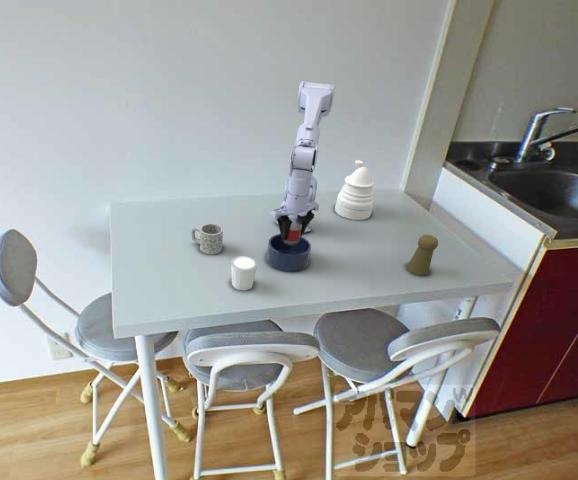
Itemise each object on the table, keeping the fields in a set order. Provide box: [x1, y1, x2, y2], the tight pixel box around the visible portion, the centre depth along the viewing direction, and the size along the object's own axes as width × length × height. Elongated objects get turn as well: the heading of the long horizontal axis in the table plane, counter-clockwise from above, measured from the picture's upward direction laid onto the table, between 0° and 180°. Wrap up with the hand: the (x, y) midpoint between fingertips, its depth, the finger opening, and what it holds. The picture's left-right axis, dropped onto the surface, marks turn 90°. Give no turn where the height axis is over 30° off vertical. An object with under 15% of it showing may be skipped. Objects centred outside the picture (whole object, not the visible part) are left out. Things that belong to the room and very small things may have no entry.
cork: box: [406, 234, 439, 277], centre depth 121 cm, size 6×6×11 cm
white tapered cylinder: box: [230, 255, 258, 291], centre depth 112 cm, size 7×7×7 cm
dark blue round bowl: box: [266, 233, 312, 273], centre depth 123 cm, size 12×12×6 cm
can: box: [283, 218, 302, 246], centre depth 119 cm, size 5×5×6 cm
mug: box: [191, 223, 224, 255], centre depth 126 cm, size 10×7×7 cm, turn 65°
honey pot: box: [334, 159, 375, 221], centre depth 147 cm, size 13×13×18 cm
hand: (291, 236), depth 120 cm, fingers closed on can, 5 cm apart
